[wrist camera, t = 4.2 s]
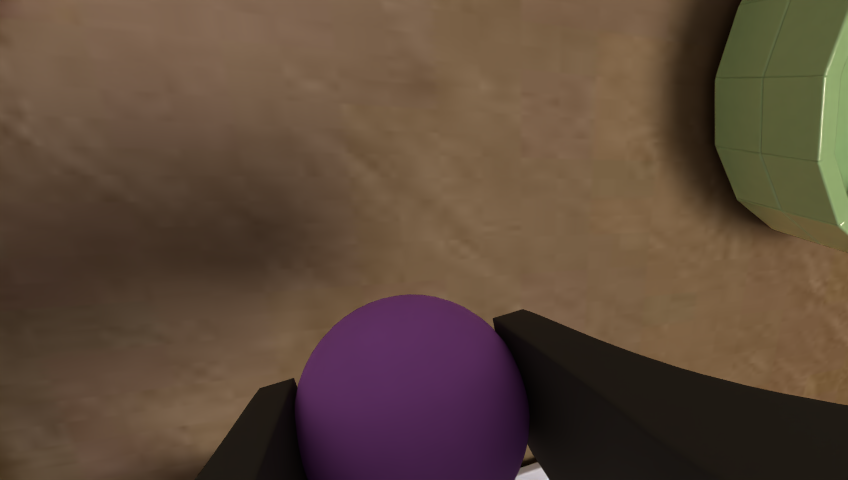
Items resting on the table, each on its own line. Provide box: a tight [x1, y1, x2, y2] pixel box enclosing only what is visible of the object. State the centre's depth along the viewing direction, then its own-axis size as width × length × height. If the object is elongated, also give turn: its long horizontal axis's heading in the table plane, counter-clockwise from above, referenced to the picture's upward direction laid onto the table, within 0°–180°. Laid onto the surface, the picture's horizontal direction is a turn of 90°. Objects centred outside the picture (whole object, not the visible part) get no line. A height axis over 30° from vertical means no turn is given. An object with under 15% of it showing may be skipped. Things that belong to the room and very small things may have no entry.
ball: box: [295, 295, 530, 480], centre depth 9 cm, size 4×4×4 cm
